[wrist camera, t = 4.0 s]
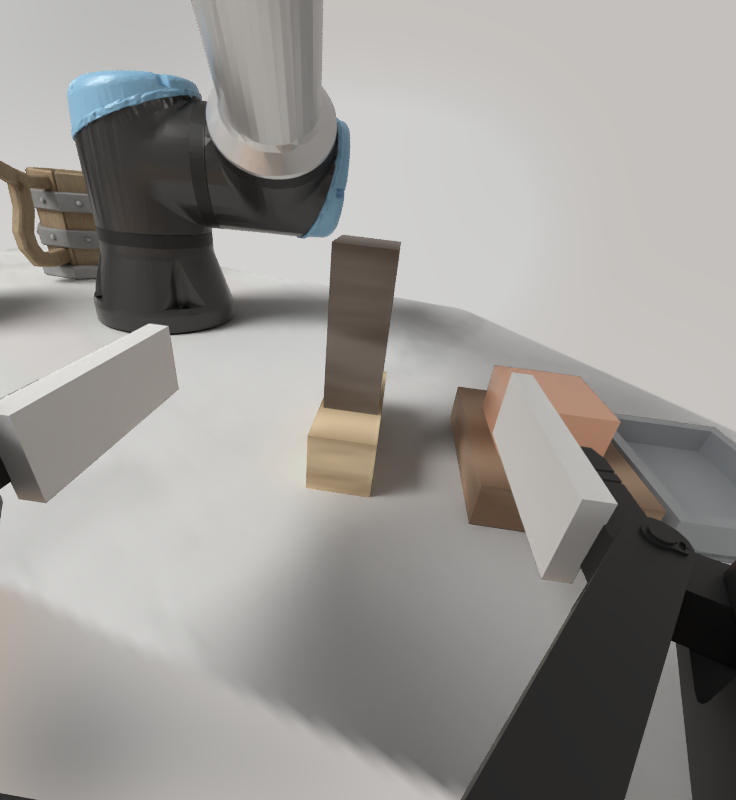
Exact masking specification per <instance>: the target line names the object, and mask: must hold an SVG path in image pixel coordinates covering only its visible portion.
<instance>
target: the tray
mask: <svg viewBox="0 0 736 800" xmlns="http://www.w3.org/2000/svg"><path fill="white" fill-rule="evenodd" d="M613 414H614V413H613ZM614 415H615V416H616V417H617V418H618V419H619V420H620V421H621V423H620V425H619V427H618V428H617V430H616V432H615V434H614V436H613V438H612V440H611V443H612V444H613V445H614V446H615V448H616V449H617V450H618V451H619V453H620V454H621V455H622V456H623V458H624V459H625V460H626V461H627V463H628V464H629V465H630V467H631V468H632V469H633V470H634V472H635V473H636V474H637V475H638V477H639V478H640V479H641V480H642V482H643V483H644V484H645V485H646V487H647V488H648V489H649V490H650V492H651V493H652V494H653V495H654V497H655V498H656V499H657V500H658V502H659V503H660V504H661V505H662V507H663V508H664V509H665V510H666V514H665V515H664V517H663V518H662V520H661V522H664V523H666V524H667V525H669V526H671V527H672V528H674V529H675V530H677V531H678V532H679V533H681V534H682V535H683V536H684V537H685V538H686V539H687V540H688V541H689V542H690V544H691V545H692V547H693V548H694V551H695V553H697V554H700V555H703V556H706V557H708V558H711V559H714V560H717V561H724V562H731V563H734V561H735V560H736V444H735V443H734V442H733V441H731V440H730V439H729V438H728V437H726V436H725V435H724V434H722V433H721V432H720V431H719V430H717V429H716V428H715V427H709V426H701V425H694V424H687V423H680V422H672V421H665V420H658V419H650V418H643V417H636V416H628V415H621V414H614Z"/></svg>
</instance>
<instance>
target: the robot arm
mask: <svg viewBox="0 0 736 800" xmlns="http://www.w3.org/2000/svg"><path fill="white" fill-rule="evenodd" d="M191 2H192V6H193V10H194V13H195V17H196V20H197V24H198V28H199V31H200V35H201V38H202V42H203V46H204V49H205V53H206V57H207V61H208V64H209V68H210V71H211V75H212V78H213V82H214V87H213V88H212V90H211V92H210V94H209V97H208V101H207V102H206V101H202V97H201V94H200V93H199V91H198V88H197V86H196V85H195V84H194V83H193V82H191V81H189V80H186V79H184V78H181V77H177V76H173V75H165V74H161V75H160V74H154V73H152V72H144V71H99V72H92V73H87V74H83V75H80V76H79V77H77V78H76V79H74V80H73V81H72V82H71V83H70V85H69V87H68V91H67V97H68V104H69V111H70V118H71V124H72V137H73V140H74V141H75V143H76V147H77V151H78V155H79V159H80V164H81V168H82V172H83V176H84V181H85V185H86V189H87V193H88V198H89V202H90V206H91V210H92V214H93V219H94V223H95V226H96V231H97V235H98V240H99V245H100V254H99V262H98V270H97V278H96V292H95V294H94V303H95V307H96V311H97V315H98V319H99V320H100V321H101V322H102V323H103V324H105V325H107V326H109V327H112V328H115V329H119V330H124V331H129V332H131V333H129V334H128V335H126V336H124V337H122V338H120V339H118V340H116V341H114V342H112V343H110V344H108V345H106V346H104V347H102V348H100V349H98V350H96V351H94V352H92V353H90V354H88V355H86V356H84V357H82V358H80V359H78V360H77V361H75V362H73V363H71V364H69V365H67V366H65V367H63V368H61V369H59V370H57V371H55V372H53V373H51V374H49V375H47V376H45V377H43V378H41V379H39V380H36V381H34V382H32V383H30V384H28V385H26V386H24V387H23V388H21V389H20V390H17V391H15V392H13V393H11V394H9V395H8V396H6V397H3V398H1V399H0V489H1V488H2V487H4V486H5V485H7V484H8V483H9V482H11V484H12V486H13V488H14V490H15V492H16V494H17V496H18V499H23V500H29V501H36V502H42V503H47V502H48V501H49V500H50V499H52V498H53V497H54V496H55V495H56V494H57V493H59V492H60V491H61V490H62V489H63V488H64V487H66V486H67V485H68V484H69V483H70V482H71V481H73V480H74V479H75V478H76V477H77V476H78V475H80V474H81V473H82V472H83V471H84V470H85V469H86V468H88V467H89V466H90V465H91V464H92V463H93V462H95V461H96V460H97V459H98V458H99V457H100V456H102V455H103V454H104V453H105V452H106V451H107V450H109V449H110V448H111V447H112V446H113V445H114V444H116V443H117V442H118V441H119V440H120V439H121V438H123V437H124V436H125V435H126V434H127V433H128V432H130V431H131V430H132V429H133V428H134V427H135V426H137V425H138V424H139V423H140V422H141V421H142V420H144V419H145V418H146V417H147V416H148V415H149V414H151V413H152V412H153V411H154V410H155V409H156V408H158V407H159V406H160V405H161V404H162V403H163V402H165V401H166V400H167V399H168V398H169V397H170V396H171V395H173V394H174V393H175V392H176V391H177V390H178V389H179V388H178V382H177V376H176V369H175V363H174V357H173V351H172V345H171V339H170V333H182V332H191V331H197V330H203V329H207V328H211V327H215V326H217V325H220V324H222V323H225V322H226V321H228V320H229V319H231V317H232V316H233V301H232V295H231V293H230V290H229V288H228V285H227V283H226V280H225V278H224V275H223V273H222V270H221V268H220V266H219V263H218V261H217V258H216V256H215V254H214V249H213V238H212V228H221V229H232V230H241V231H252V232H262V233H272V234H282V235H290V236H297V237H299V238H306V237H327V236H328V235H330V234H332V233H333V231H334V230H335V228H336V227H337V224H338V222H339V218H340V215H341V211H342V207H343V201H344V190H345V187H346V183H347V177H348V168H349V158H350V133H349V129H348V126H347V125H346V123H345V122H343V121H340V120H339V119H338V118H336V113H335V109H334V106H333V104H332V101H331V99H330V97H329V96H328V94H327V92H326V91H325V90H324V89H323V87H322V86H321V80H322V27H323V0H191ZM492 434H493V437H494V440H495V443H496V446H497V449H498V452H499V455H500V458H501V460H502V463H503V466H504V469H505V472H506V475H507V478H508V481H509V484H510V487H511V490H512V493H513V496H514V499H515V502H516V505H517V508H518V511H519V514H520V517H521V520H522V523H523V526H524V529H525V532H526V535H527V538H528V541H529V544H530V547H531V550H532V553H533V556H534V559H535V562H536V565H537V568H538V571H539V573H540V576H541V579H545V580H552V581H558V582H565V583H571V584H572V582H573V580H574V579H575V577H576V575H577V574H578V572H579V570H580V568H581V569H582V571H583V573H584V575H585V578H586V580H587V582H588V583H587V585H586V586H585V588H584V589H583V591H582V593H581V594H580V596H579V598H578V599H577V601H576V603H575V604H574V606H573V607H572V609H571V612H570V613H569V615H568V617H567V619H566V620H565V622H564V624H563V625H562V627H561V629H560V631H559V632H558V634H557V636H556V637H555V639H554V641H553V643H552V644H551V646H550V648H549V649H548V651H547V653H546V655H545V656H544V658H543V660H542V661H541V663H540V665H539V667H538V668H537V670H536V672H535V673H534V675H533V677H532V678H531V680H530V682H529V684H528V685H527V687H526V689H525V690H524V692H523V694H522V696H521V697H520V699H519V701H518V702H517V704H516V706H515V708H514V709H513V711H512V713H511V714H510V716H509V718H508V720H507V721H506V723H505V725H504V726H503V728H502V730H501V732H500V733H499V735H498V737H497V738H496V740H495V742H494V744H493V745H492V747H491V749H490V750H489V752H488V754H487V756H486V757H485V759H484V761H483V762H482V764H481V766H480V768H479V769H478V771H477V773H476V774H475V776H474V778H473V780H472V781H471V783H470V785H469V786H468V788H467V790H466V792H465V793H464V795H463V797H462V798H461V800H624V799H625V795H626V792H627V788H628V785H629V782H630V778H631V775H632V771H633V768H634V765H635V761H636V758H637V754H638V751H639V748H640V744H641V741H642V737H643V734H644V731H645V727H646V724H647V720H648V717H649V714H650V710H651V707H652V703H653V700H654V697H655V693H656V690H657V686H658V683H659V680H660V676H661V673H662V669H663V666H664V663H665V659H666V656H667V652H668V649H669V646H670V642H671V641H673V642H676V648H677V657H678V667H679V676H680V686H681V695H682V705H683V714H684V724H685V733H686V743H687V752H688V762H689V771H690V781H691V790H692V800H736V560H735V561H734V563H733V564H732V565H728V564H725V563H722V562H720V561H717V560H714V559H711V558H708V557H706V556H703V555H700V554H697V553H695V551H694V548H693V547H692V545H691V544H690V542H689V541H688V540H687V539H686V538H685V537H684V536H683V535H682V534H681V533H679V532H678V531H677V530H675V529H674V528H672V527H671V526H669V525H667V524H666V523H664V522H661V521H659V520H657V519H654V518H651V517H647V516H646V514H645V513H644V511H643V510H642V509H641V507H640V506H639V505H638V503H637V502H636V500H635V499H634V498H633V496H632V495H631V494H630V492H629V491H628V489H627V488H626V487H625V485H624V484H622V481H621V480H620V478H619V477H618V476H617V474H614V470H613V469H612V467H611V466H610V465H609V463H608V462H607V460H606V459H605V458H603V457H602V456H601V455H600V454H598V453H597V452H596V451H595V450H593V449H592V448H590V447H583V446H579V444H578V443H577V441H576V440H575V438H574V437H573V435H572V434H571V432H570V431H569V429H568V428H567V426H566V425H565V423H564V422H563V420H562V419H561V417H560V416H559V414H558V413H557V411H556V410H555V408H554V407H553V405H552V404H551V402H550V401H549V399H548V397H547V396H546V394H545V393H544V391H543V390H542V388H541V387H540V385H539V384H538V382H537V381H536V379H535V378H534V376H533V375H529V374H521V373H514V372H512V374H511V377H510V380H509V383H508V386H507V389H506V392H505V395H504V399H503V402H502V405H501V408H500V411H499V414H498V417H497V420H496V424H495V427H494V430H493V433H492ZM2 504H3V501H2V498H1V495H0V517H1V511H2ZM0 800H35V799H29V798H24V797H18V796H13V795H7V794H1V793H0Z"/></svg>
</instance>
